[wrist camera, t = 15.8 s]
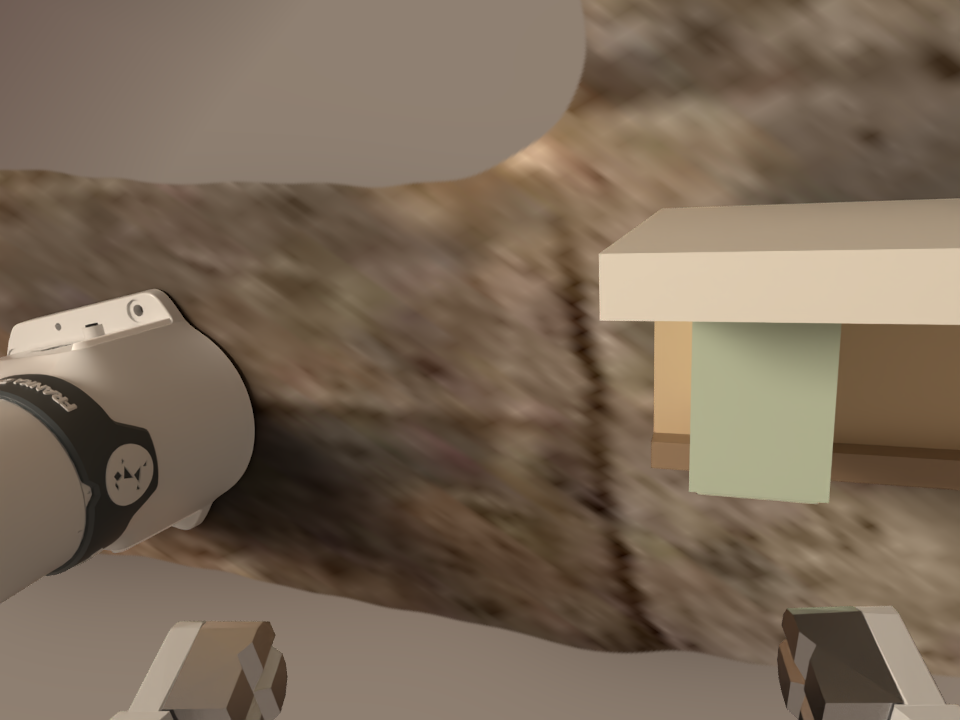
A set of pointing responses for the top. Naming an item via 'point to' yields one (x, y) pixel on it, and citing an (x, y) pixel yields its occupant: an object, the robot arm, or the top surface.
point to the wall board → (812, 317)
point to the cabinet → (763, 409)
